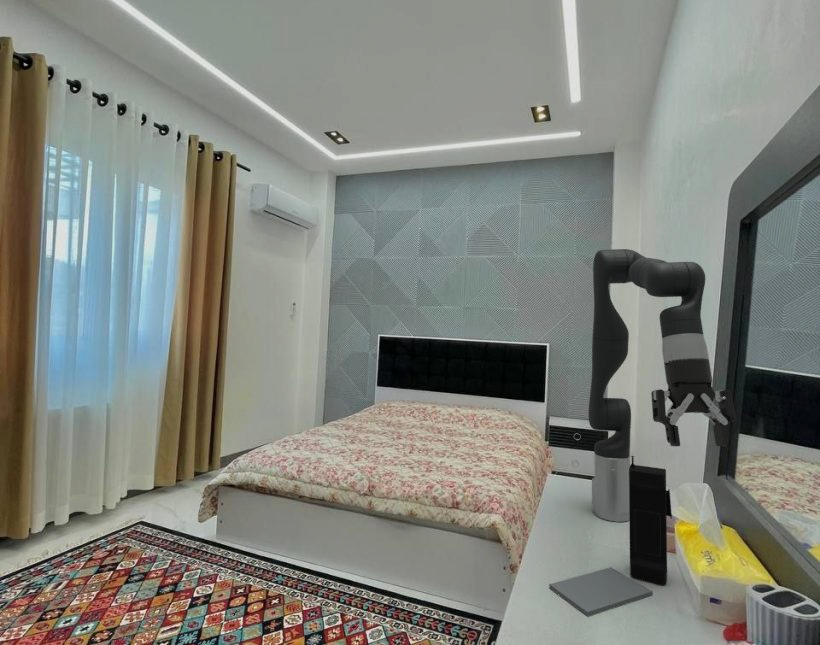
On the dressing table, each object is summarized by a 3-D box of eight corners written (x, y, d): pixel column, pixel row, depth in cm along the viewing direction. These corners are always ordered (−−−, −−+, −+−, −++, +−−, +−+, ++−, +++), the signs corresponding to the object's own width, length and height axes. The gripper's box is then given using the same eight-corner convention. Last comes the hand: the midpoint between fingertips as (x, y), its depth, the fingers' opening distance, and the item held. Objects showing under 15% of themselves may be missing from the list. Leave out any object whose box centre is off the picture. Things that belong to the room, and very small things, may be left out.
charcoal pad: (549, 588, 90) (549, 584, 90) (611, 570, 97) (611, 567, 97) (587, 616, 81) (587, 612, 81) (652, 595, 88) (652, 591, 88)
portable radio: (672, 575, 96) (671, 456, 96) (672, 588, 90) (670, 463, 91) (631, 565, 100) (630, 451, 100) (629, 577, 94) (628, 458, 95)
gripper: (710, 362, 91) (723, 445, 87) (639, 362, 91) (649, 445, 87) (736, 356, 83) (751, 447, 80) (658, 356, 84) (670, 446, 80)
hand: (698, 446), depth 83 cm, fingers open, 8 cm apart
